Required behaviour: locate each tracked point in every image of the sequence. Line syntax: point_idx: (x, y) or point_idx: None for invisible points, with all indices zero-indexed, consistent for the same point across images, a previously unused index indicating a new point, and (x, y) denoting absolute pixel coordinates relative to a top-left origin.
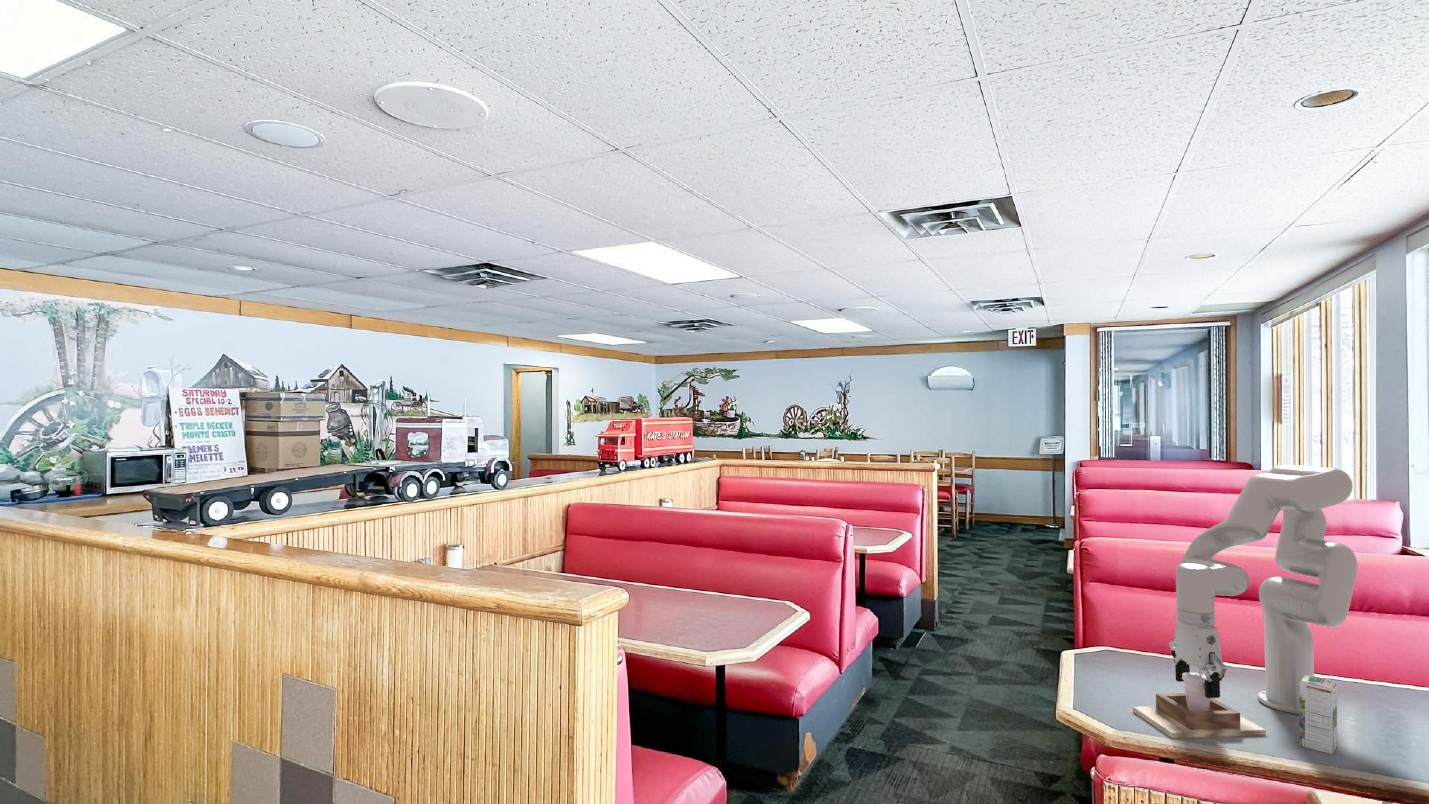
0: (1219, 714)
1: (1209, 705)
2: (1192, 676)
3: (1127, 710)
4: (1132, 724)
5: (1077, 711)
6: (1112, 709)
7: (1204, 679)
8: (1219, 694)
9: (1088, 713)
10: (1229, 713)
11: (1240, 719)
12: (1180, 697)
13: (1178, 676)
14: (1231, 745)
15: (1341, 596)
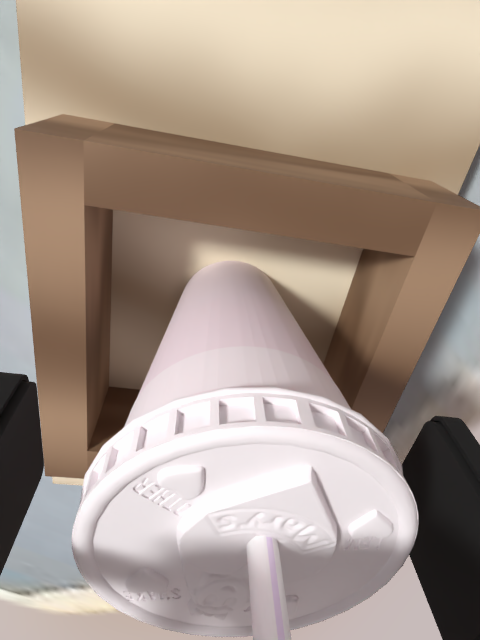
0: (414, 356)
1: (297, 323)
2: (237, 604)
3: (43, 472)
4: None
5: (50, 595)
6: (32, 510)
7: (333, 545)
8: (470, 440)
9: (68, 579)
10: (447, 294)
11: (337, 21)
12: (88, 360)
13: (24, 512)
14: (469, 335)
15: None
